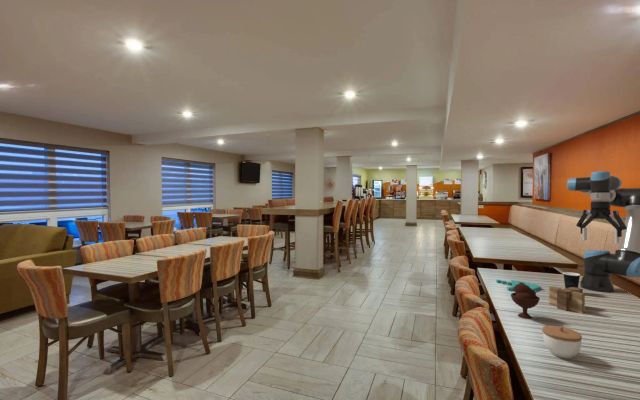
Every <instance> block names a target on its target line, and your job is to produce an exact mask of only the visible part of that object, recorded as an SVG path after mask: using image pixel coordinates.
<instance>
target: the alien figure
mask: <svg viewBox="0 0 640 400" xmlns="http://www.w3.org/2000/svg"><path fill="white" fill-rule="evenodd" d="M495 281H496V284H502V285H507V287H506V288H507V289H506V290H507V291H508V292H513V291H514V287H515V285H517V284H525V285H527V286H528V287H529V288H531V289H533V290H534V291H535V292H536V293H537V292H538V291H540V290H541V291H542V286H540V285H539V284H536V283H531V282H525V281H521V280H514V279H513V280H511V281H507V280H501V279H495Z"/></svg>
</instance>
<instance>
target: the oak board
mask: <svg viewBox="0 0 640 400" xmlns="http://www.w3.org/2000/svg"><path fill="white" fill-rule="evenodd" d="M559 289H562V287H558V286H557V287H556V286H553V285H551V286H549V289H548V291H549V293H548V294H549V297H548V298H549V300H548V301H549V305H551V306H555V307H557V290H559ZM585 296H586V295H585V293H584V292H583V293H579V292H575V291H574V292H571V301H569V310H568V311H572V312H576V313H580V314H585V311H586V309H585V304H586V303H585V302H586V300H585V299H586V297H585Z"/></svg>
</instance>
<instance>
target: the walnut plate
mask: <svg viewBox="0 0 640 400" xmlns="http://www.w3.org/2000/svg"><path fill="white" fill-rule="evenodd" d="M583 289H584V288H582V287H580V288H579V287H578V288H577V287H570V288H565V287H564V288H561V289H559V290H557V306H556V309H559V310H562V311H567V312H568V311H570V310H569V301H571V292H574V291H575V292H579V293H584V290H583Z"/></svg>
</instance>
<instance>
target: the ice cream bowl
mask: <svg viewBox="0 0 640 400" xmlns="http://www.w3.org/2000/svg"><path fill="white" fill-rule="evenodd" d="M513 291H514V292H512V293H510V298H511V299H512V301H513V302H514V304H515V305H517V306H518V307H519V308H521V309H522V312H520V313H518V314H517V317H519V318H521V319H526V320H532V319H533V316H532V315H531V314H529V313H528V309H533V308H534V307H536V306H537V305H539V303H540V297H539V296H537V291H536V292H535V291H534V290H533V289H531V288H529V287H528V286H527V285H525V284H517V285H515V287H514V290H513Z"/></svg>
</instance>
